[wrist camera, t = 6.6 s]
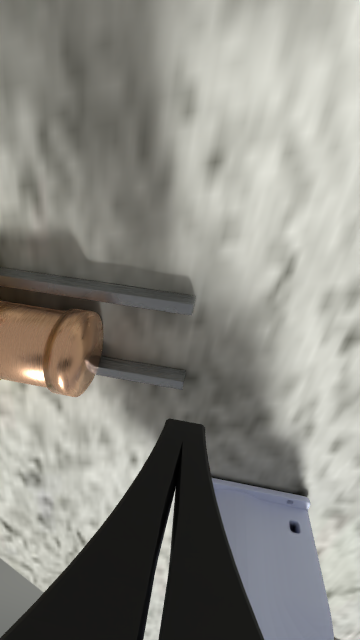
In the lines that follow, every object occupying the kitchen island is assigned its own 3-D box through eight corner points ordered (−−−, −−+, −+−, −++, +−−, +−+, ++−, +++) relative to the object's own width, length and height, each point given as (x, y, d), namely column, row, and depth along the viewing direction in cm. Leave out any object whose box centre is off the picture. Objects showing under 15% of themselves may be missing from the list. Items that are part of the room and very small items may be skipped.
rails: (195, 296, 14) (193, 304, 14) (184, 378, 17) (182, 389, 16) (-5, 266, 15) (-19, 272, 14) (16, 349, 18) (6, 358, 17)
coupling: (100, 295, 15) (59, 353, 11) (107, 354, 18) (75, 415, 14) (-39, 273, 15) (-118, 322, 12) (-12, 333, 18) (-69, 387, 15)
